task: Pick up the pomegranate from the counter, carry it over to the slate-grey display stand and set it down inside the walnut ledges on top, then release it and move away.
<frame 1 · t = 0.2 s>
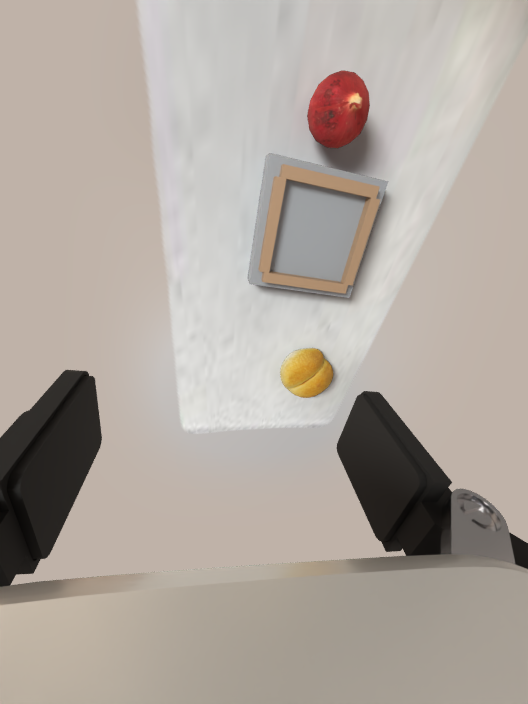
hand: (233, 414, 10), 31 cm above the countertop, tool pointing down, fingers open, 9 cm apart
display stand: (308, 232, 37), on the countertop
pomegranate: (325, 120, 31), on the countertop
bread roll: (304, 368, 48), on the countertop
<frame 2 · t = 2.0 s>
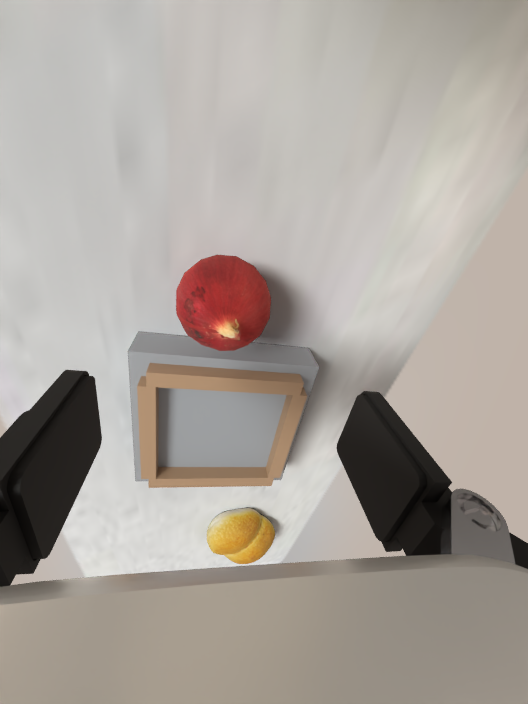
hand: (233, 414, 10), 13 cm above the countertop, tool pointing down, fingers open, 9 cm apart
display stand: (219, 405, 27), on the countertop
pomegranate: (223, 284, 21), on the countertop
bread roll: (240, 522, 38), on the countertop
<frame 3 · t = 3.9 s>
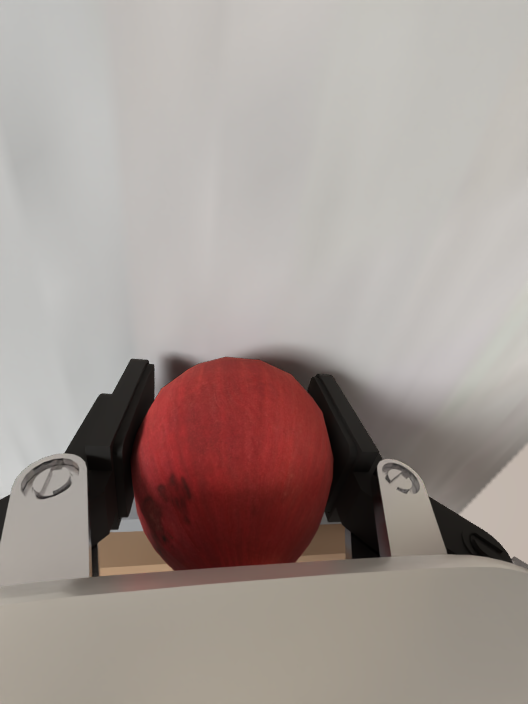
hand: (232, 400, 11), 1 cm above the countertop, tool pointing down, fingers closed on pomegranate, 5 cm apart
display stand: (223, 535, 17), on the countertop
pomegranate: (230, 379, 12), on the countertop, touching gripper
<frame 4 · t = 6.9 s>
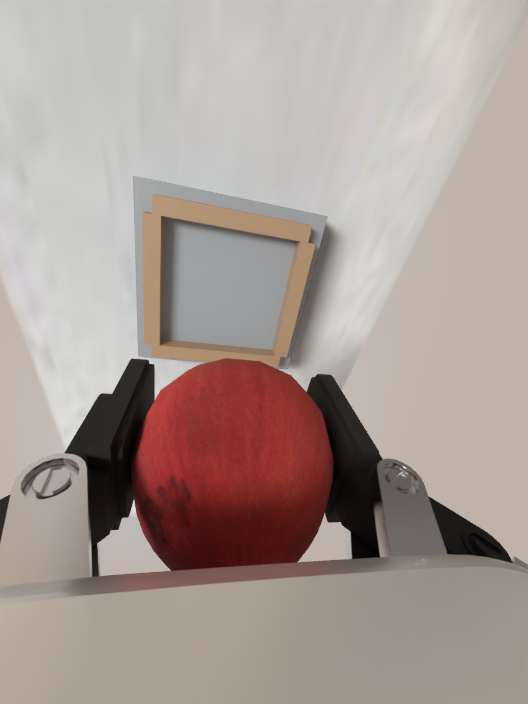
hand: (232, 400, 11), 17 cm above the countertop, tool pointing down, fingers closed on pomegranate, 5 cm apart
display stand: (225, 282, 26), on the countertop
pomegranate: (230, 380, 12), point 16 cm above the countertop, touching gripper
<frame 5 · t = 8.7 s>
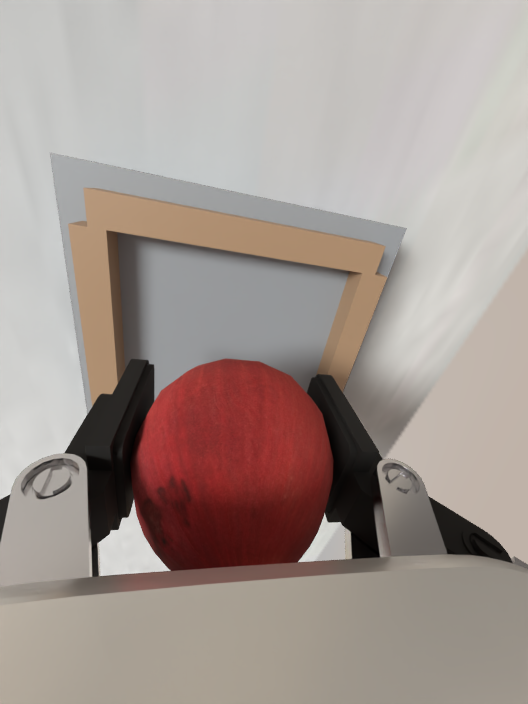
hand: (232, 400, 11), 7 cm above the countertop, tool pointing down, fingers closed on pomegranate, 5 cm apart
display stand: (227, 326, 17), on the countertop
pomegranate: (230, 380, 12), point 6 cm above the countertop, touching gripper
when the fingers open (5 cm above the countertop, at t = 9.9 s): pomegranate drops 1 cm, resting on display stand.
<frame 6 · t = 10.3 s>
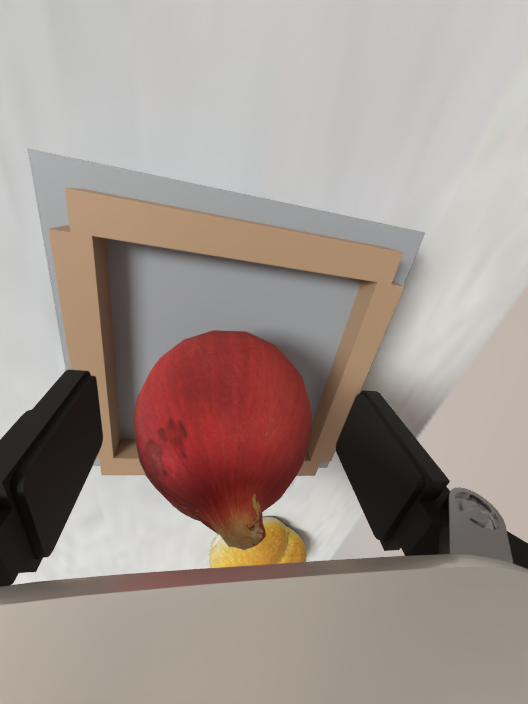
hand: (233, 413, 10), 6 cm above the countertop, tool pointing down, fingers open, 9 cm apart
display stand: (228, 336, 16), on the countertop
pomegranate: (223, 358, 13), point 3 cm above the countertop, touching display stand
bread roll: (257, 537, 27), on the countertop
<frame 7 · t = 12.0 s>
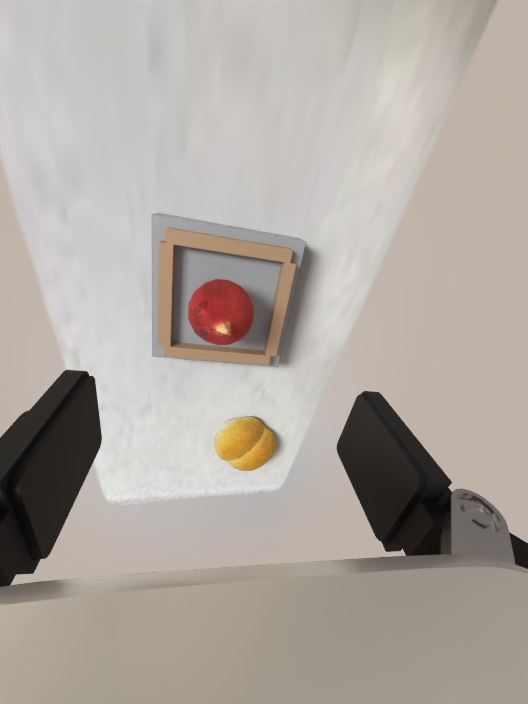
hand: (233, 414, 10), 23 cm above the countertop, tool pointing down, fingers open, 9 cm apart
display stand: (224, 294, 31), on the countertop
pomegranate: (221, 299, 29), point 3 cm above the countertop, touching display stand
bread roll: (244, 436, 42), on the countertop
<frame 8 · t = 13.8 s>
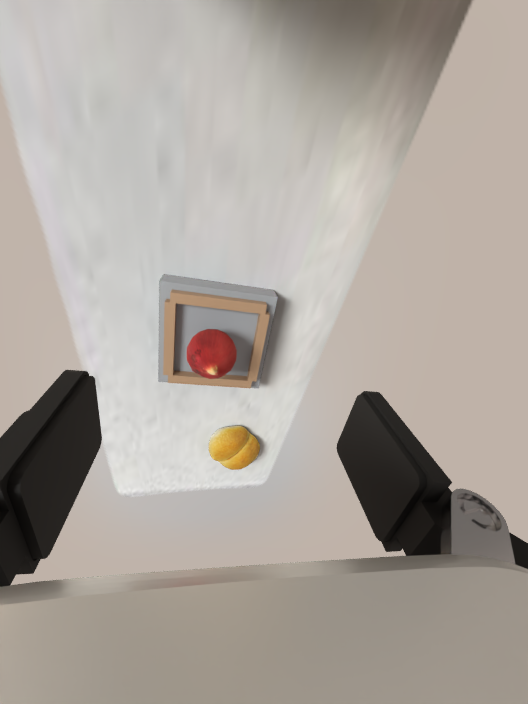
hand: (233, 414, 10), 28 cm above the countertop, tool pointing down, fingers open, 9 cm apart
display stand: (215, 331, 39), on the countertop
pomegranate: (212, 339, 37), point 3 cm above the countertop, touching display stand
bread roll: (234, 440, 51), on the countertop
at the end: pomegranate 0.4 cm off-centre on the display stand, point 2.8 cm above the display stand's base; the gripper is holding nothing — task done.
